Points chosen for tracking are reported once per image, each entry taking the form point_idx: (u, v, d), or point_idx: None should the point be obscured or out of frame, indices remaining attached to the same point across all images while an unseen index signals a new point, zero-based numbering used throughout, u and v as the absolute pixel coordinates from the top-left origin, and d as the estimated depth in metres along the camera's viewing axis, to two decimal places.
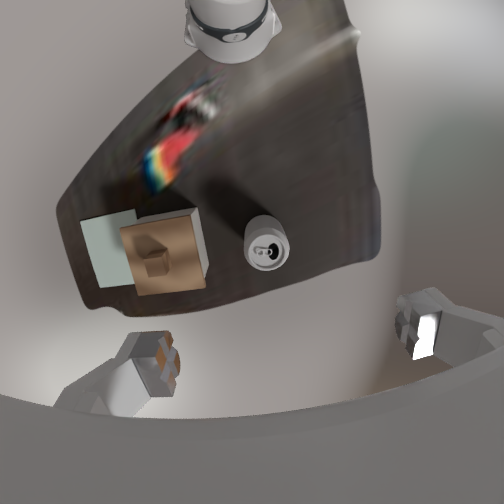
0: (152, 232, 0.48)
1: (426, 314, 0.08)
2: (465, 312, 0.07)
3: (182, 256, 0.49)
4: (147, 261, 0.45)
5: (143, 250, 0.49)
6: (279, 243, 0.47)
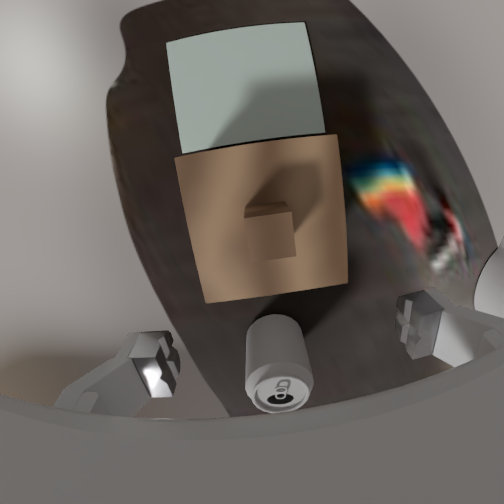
0: (325, 210, 0.24)
1: (426, 314, 0.08)
2: (465, 312, 0.07)
3: (271, 266, 0.25)
4: (285, 221, 0.20)
5: (286, 184, 0.23)
6: (292, 403, 0.29)
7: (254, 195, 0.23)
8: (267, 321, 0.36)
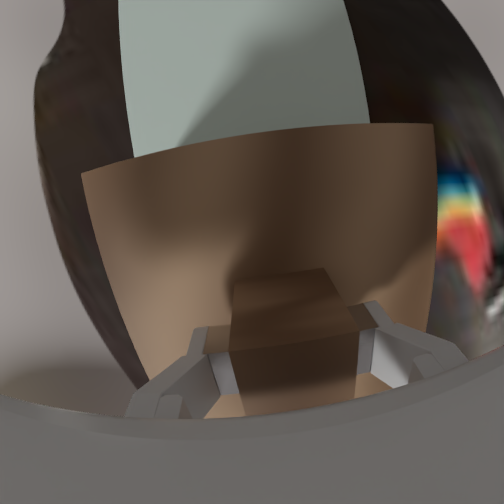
0: (400, 282, 0.11)
1: None
2: (401, 331, 0.07)
3: None
4: (341, 354, 0.07)
5: (330, 231, 0.10)
6: None
7: (255, 256, 0.10)
8: None
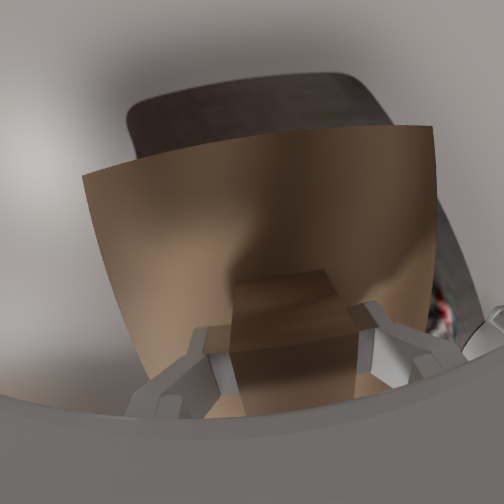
0: (400, 283, 0.11)
1: None
2: (401, 332, 0.07)
3: None
4: (341, 356, 0.07)
5: (329, 233, 0.10)
6: None
7: (256, 257, 0.10)
8: None
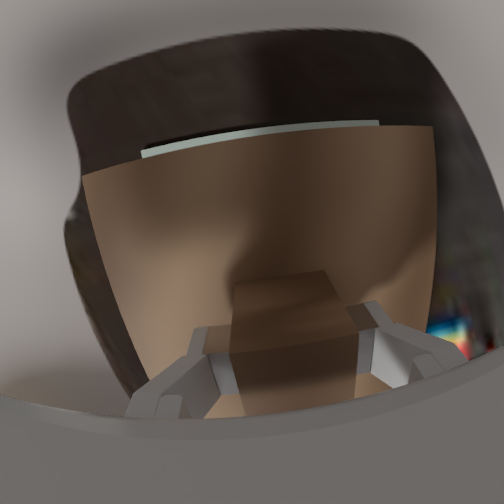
0: (400, 284, 0.11)
1: None
2: (401, 332, 0.07)
3: None
4: (341, 356, 0.07)
5: (329, 233, 0.10)
6: None
7: (255, 258, 0.10)
8: None
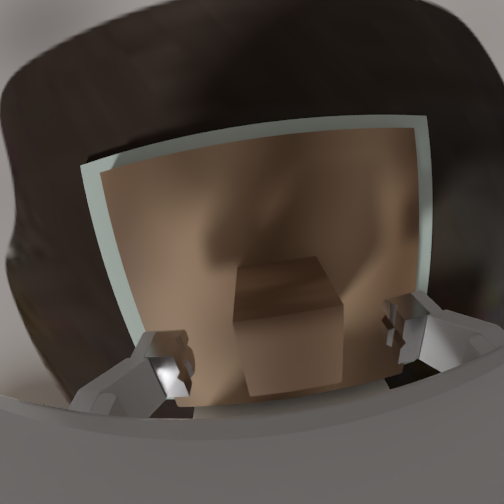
0: (386, 270, 0.12)
1: (410, 318, 0.08)
2: (451, 317, 0.07)
3: None
4: (329, 326, 0.08)
5: (320, 223, 0.11)
6: None
7: (255, 245, 0.12)
8: None
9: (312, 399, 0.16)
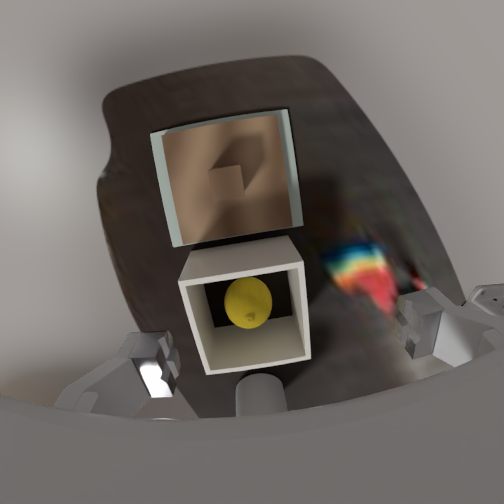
0: (270, 169, 0.32)
1: (426, 314, 0.08)
2: (465, 312, 0.07)
3: (231, 213, 0.33)
4: (236, 171, 0.28)
5: (240, 151, 0.31)
6: None
7: (217, 159, 0.31)
8: (252, 380, 0.40)
9: (249, 242, 0.35)
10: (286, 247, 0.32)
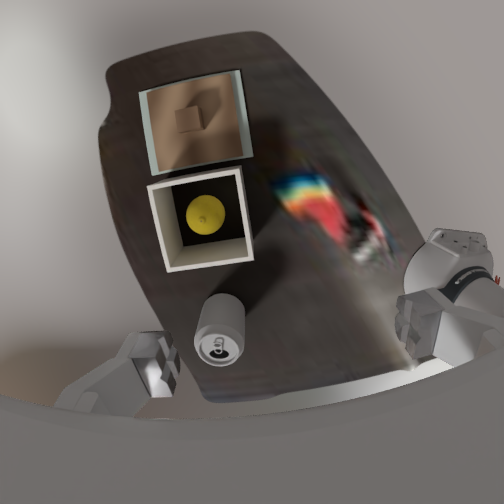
0: (224, 112, 0.39)
1: (426, 314, 0.08)
2: (465, 312, 0.07)
3: (195, 146, 0.41)
4: (194, 110, 0.36)
5: (202, 100, 0.39)
6: (228, 358, 0.42)
7: (185, 107, 0.39)
8: (215, 298, 0.48)
9: (209, 170, 0.43)
10: (234, 167, 0.39)
